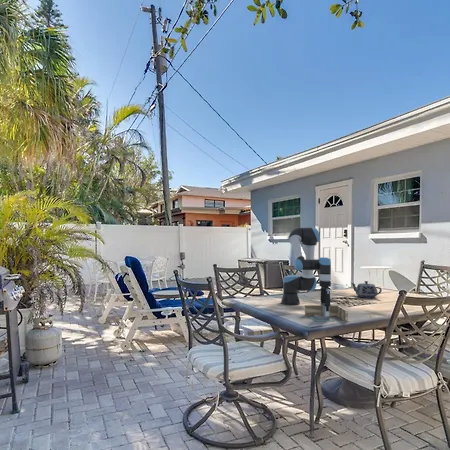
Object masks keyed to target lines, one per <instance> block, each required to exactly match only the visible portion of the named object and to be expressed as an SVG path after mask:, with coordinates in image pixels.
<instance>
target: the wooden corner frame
mask: <svg viewBox="0 0 450 450" xmlns="http://www.w3.org/2000/svg"><path fill="white" fill-rule="evenodd" d="M314 315H321V304H320V305H319V304H305V305H304V316H310V317H314ZM330 316H331V317H338V318H340V319H342V320H343V321H344V322H346V323H347V322H349V310H347V309H345V308H344V307H342V306H340V305H339V304H337V305H336V304H332V305H331V304H330V306H329V317H330Z"/></svg>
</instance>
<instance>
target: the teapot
mask: <svg viewBox="0 0 450 450" xmlns="http://www.w3.org/2000/svg"><path fill="white" fill-rule="evenodd" d="M350 284H351V285H352V288H353V289H352V290H353V291H354V292H355V294H356V295H357V297H359V298H362V297H363V298H364V299H375V298H376V297H377V296H379V295H380V294H382V291H383V290H382V287H379V286H376V284H374V283H369V281H368V280H364V282H363V283H358V284H357V287H356V285H355V283H354V282H350ZM378 290H379V291H378ZM374 297H375V298H374Z"/></svg>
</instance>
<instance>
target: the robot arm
mask: <svg viewBox="0 0 450 450" xmlns="http://www.w3.org/2000/svg"><path fill="white" fill-rule="evenodd" d="M320 237H321V236H320V233H319V229H318V228H317V227H295V228H294V229H292V230H291V231H290V233H289V235H288V241H289V244H290V245H291V248H292V252H293V254H294V258H295V259H294V262H293V267H294V270H296V271H301V273H300V274H299V275H300V276H298V275H297V274H288V275H285V276H284V277H283V288H282V289H283V294H282V298H281V301H280V302H281V304H282V305H286V306H298V305H300V303H301V301H300V298H299V295H298V293H299V292H312V291H314V290H316V288H317V283H318V284H319V287H320V304H321V303H325V305H324V306H325V316H329V306H330V305H331V291H330V290H329V287H331V286H332V281H331V280H332V267H331V266H332V261H331V258H330V257H324V256H323V257H321V256H320V257H318V259H315V247H316V246H317V244H318V243H319V242H320V240H321V239H320ZM314 271H318V273H319V274H318V277H319V280H317V277H316V275H315V274H314ZM317 281H318V282H317ZM329 317H330V316H329Z"/></svg>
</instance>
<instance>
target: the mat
mask: <svg viewBox="0 0 450 450" xmlns="http://www.w3.org/2000/svg"><path fill="white" fill-rule="evenodd" d="M309 318H310V319H311V320H312V321H314V322H334V320H333V319H332V318H331V317H330V320H316V319H314V316H310V317H309Z"/></svg>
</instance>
